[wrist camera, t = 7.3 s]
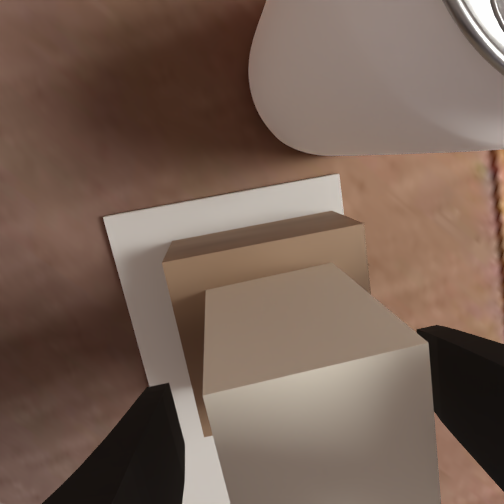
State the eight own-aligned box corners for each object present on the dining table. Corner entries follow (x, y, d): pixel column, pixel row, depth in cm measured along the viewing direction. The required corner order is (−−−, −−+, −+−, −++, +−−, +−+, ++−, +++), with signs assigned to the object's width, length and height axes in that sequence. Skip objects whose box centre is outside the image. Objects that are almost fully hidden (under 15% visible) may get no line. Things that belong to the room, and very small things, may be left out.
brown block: (348, 353, 18) (381, 397, 15) (205, 384, 18) (203, 437, 14) (332, 210, 16) (364, 223, 13) (171, 241, 16) (161, 262, 13)
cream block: (347, 374, 14) (442, 519, 9) (232, 401, 14) (247, 570, 8) (332, 262, 13) (428, 342, 7) (205, 290, 13) (202, 395, 7)
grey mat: (369, 470, 20) (372, 476, 20) (186, 513, 20) (186, 520, 19) (336, 173, 16) (339, 173, 16) (105, 215, 16) (102, 217, 15)
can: (222, 120, 15) (262, -4, 4) (284, -47, 14) (612, -961, 3) (360, 179, 17) (709, 224, 5) (426, 30, 15) (1080, -361, 4)
